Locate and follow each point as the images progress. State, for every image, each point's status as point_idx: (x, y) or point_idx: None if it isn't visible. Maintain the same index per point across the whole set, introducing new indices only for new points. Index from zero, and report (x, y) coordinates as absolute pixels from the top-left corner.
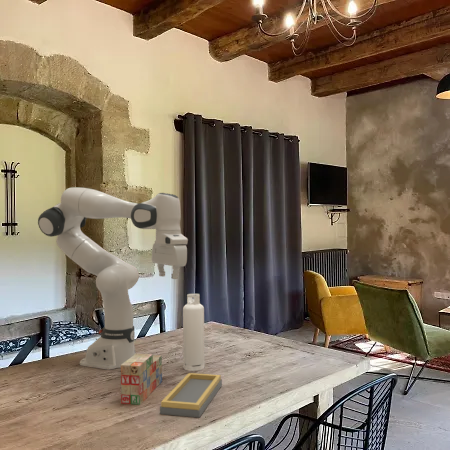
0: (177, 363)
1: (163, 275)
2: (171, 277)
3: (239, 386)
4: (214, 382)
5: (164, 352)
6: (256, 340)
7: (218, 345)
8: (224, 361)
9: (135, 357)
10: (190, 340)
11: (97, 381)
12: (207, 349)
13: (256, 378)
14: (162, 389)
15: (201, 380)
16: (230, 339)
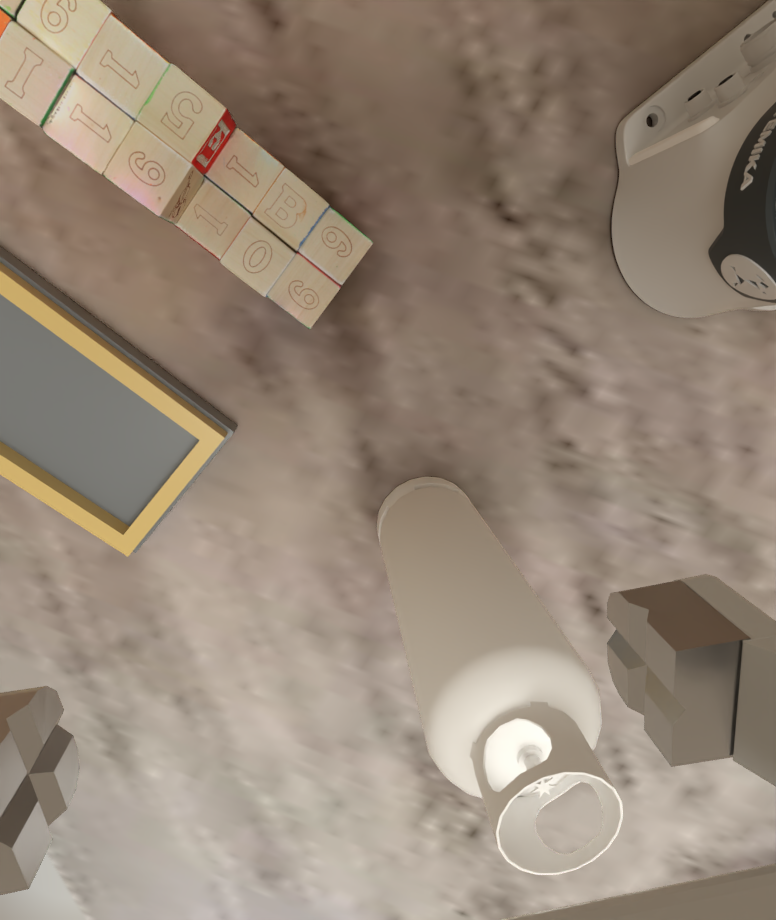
0: (523, 478)
1: (621, 653)
2: (28, 695)
3: (99, 597)
4: (34, 492)
5: (719, 482)
6: (631, 880)
7: None
8: None
9: (125, 72)
10: (410, 557)
11: (473, 4)
12: None
13: (164, 692)
14: (201, 284)
15: (158, 468)
16: (712, 801)
